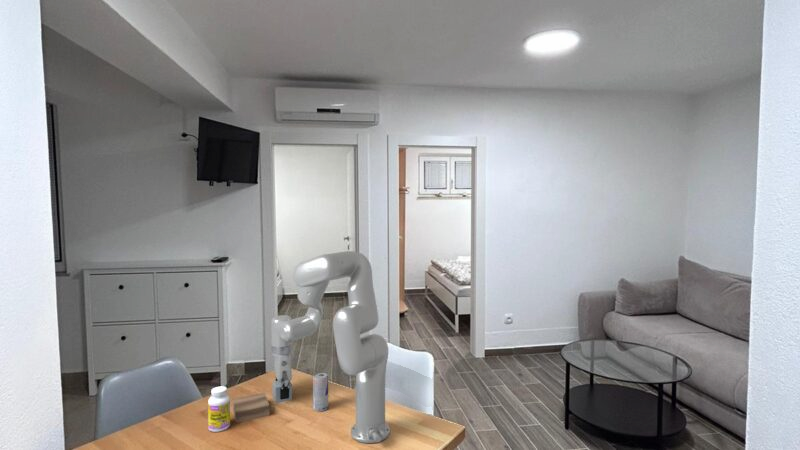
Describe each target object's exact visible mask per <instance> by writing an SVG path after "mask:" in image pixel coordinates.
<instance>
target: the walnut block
mask: <svg viewBox="0 0 800 450" xmlns="http://www.w3.org/2000/svg"><path fill="white" fill-rule="evenodd" d="M269 403H270V402H269V401H268V398H267V396H266V393H265V392H262V393H258V394H257V393H256V394H252V395H248V396H247V395H246V396H242V397H237V398H236V397H235V398H233V399H232V411H233V416H234V420H235V423H236V424H238V423H244V422H247V421H252V420H257V419H261V418H262V419H263V418H267V417H270V413H271V412H270V411H271V410H270V408H271V407H270V404H269Z"/></svg>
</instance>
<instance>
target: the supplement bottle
mask: <svg viewBox="0 0 800 450" xmlns="http://www.w3.org/2000/svg"><path fill="white" fill-rule="evenodd" d="M227 389H228V388H227V387H226V386H224V385H220V386H216V387H212V388H211V391H210V392H211V393H210V394H211V396H210V397H209V398H208V401H207V402H208V403H207V426H208V427H207V429H208V431H210V432H214V433H219V432H222V431H224V430H225V431H226V430H227V429H229V427H230V426H231V397H230V395H229V394H227V392H228V390H227Z"/></svg>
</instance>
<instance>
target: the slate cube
mask: <svg viewBox="0 0 800 450" xmlns="http://www.w3.org/2000/svg"><path fill="white" fill-rule="evenodd" d="M288 382H289V398H287V399H282V400H281V399H280V389H281V384H280V382H279V381H276V380H274V381H272V398H273V401H274V404H281V403H284V402H289V401H293V387H292V386H293V384H292V383H291V381H290V380H289V379H288ZM283 383H284V382H283ZM283 383H282V384H283Z"/></svg>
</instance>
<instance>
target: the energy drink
mask: <svg viewBox="0 0 800 450" xmlns="http://www.w3.org/2000/svg"><path fill="white" fill-rule="evenodd" d="M328 408H329V376H328V374H327V373H326V372H318V373H315V374H314V375H313V377H312V409H313V410H314V411H315V412H319V413H320V412H324V411H326V410H327V409H328Z"/></svg>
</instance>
